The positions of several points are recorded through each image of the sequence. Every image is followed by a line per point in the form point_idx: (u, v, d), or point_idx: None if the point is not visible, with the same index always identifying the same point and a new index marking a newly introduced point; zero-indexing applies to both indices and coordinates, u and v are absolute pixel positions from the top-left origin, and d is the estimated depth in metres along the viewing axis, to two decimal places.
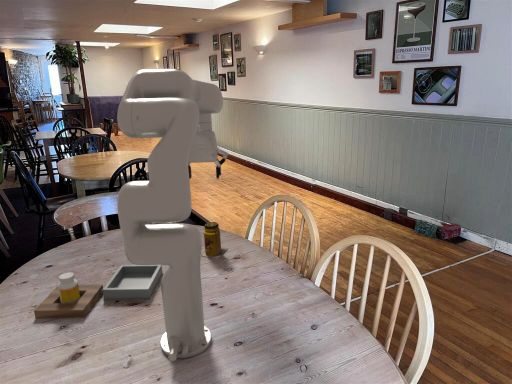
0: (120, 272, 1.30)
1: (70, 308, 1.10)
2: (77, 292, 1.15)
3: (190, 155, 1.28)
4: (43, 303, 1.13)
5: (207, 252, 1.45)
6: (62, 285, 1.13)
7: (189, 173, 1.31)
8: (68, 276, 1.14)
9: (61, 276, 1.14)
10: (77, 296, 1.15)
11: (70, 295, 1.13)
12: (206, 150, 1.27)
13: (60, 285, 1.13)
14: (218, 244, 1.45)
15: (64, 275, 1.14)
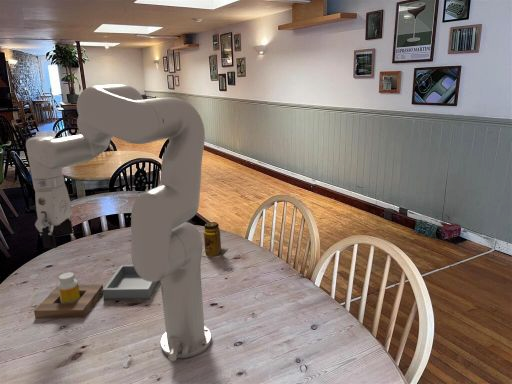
0: (120, 272, 1.30)
1: (70, 308, 1.10)
2: (77, 292, 1.15)
3: (57, 216, 1.05)
4: (43, 303, 1.13)
5: (207, 252, 1.45)
6: (62, 285, 1.13)
7: (54, 240, 1.06)
8: (68, 276, 1.14)
9: (61, 276, 1.14)
10: (77, 296, 1.15)
11: (70, 295, 1.13)
12: (66, 205, 1.10)
13: (60, 285, 1.13)
14: (218, 244, 1.45)
15: (64, 275, 1.14)
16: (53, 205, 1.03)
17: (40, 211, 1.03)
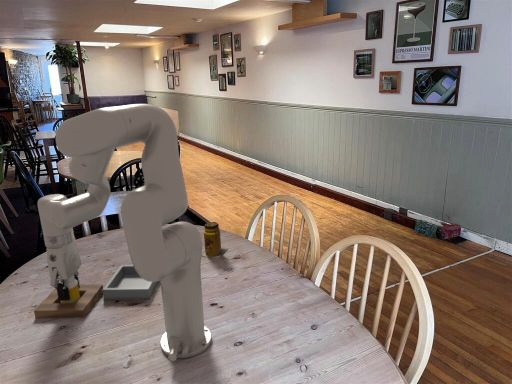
0: (120, 272, 1.30)
1: (70, 308, 1.10)
2: (77, 292, 1.15)
3: (67, 271, 1.10)
4: (43, 303, 1.13)
5: (207, 252, 1.45)
6: None
7: None
8: None
9: None
10: (77, 296, 1.15)
11: (70, 295, 1.13)
12: (76, 257, 1.15)
13: None
14: (218, 244, 1.45)
15: None
16: (63, 261, 1.08)
17: (52, 269, 1.08)
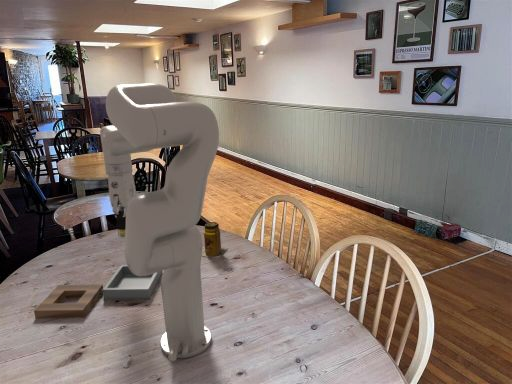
0: (120, 272, 1.30)
1: (70, 308, 1.10)
2: None
3: (127, 199, 1.14)
4: (43, 303, 1.13)
5: (207, 252, 1.45)
6: None
7: None
8: None
9: None
10: None
11: None
12: (133, 189, 1.19)
13: None
14: (218, 244, 1.45)
15: (122, 206, 1.18)
16: (124, 188, 1.12)
17: (113, 196, 1.12)
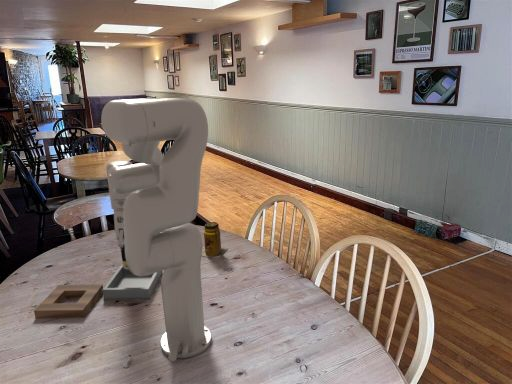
0: (120, 272, 1.30)
1: (70, 308, 1.10)
2: None
3: None
4: (43, 303, 1.13)
5: (207, 252, 1.45)
6: None
7: None
8: None
9: None
10: None
11: None
12: None
13: None
14: (218, 244, 1.45)
15: None
16: None
17: (118, 230, 1.15)
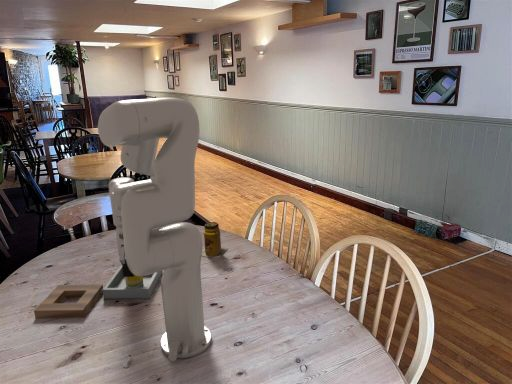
0: (120, 272, 1.30)
1: (70, 308, 1.10)
2: None
3: None
4: (43, 303, 1.13)
5: (207, 252, 1.45)
6: None
7: None
8: None
9: None
10: (141, 277, 1.24)
11: (135, 275, 1.22)
12: None
13: None
14: (218, 244, 1.45)
15: None
16: None
17: (120, 245, 1.17)
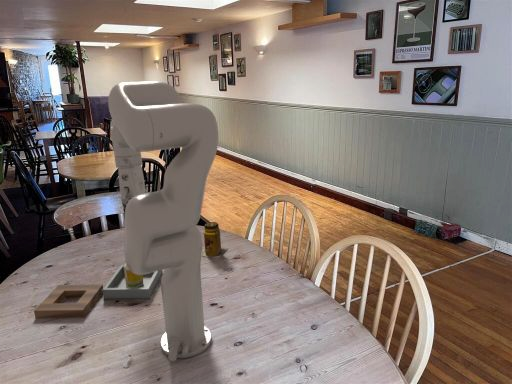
0: (120, 272, 1.30)
1: (70, 308, 1.10)
2: None
3: (137, 191, 1.14)
4: (43, 303, 1.13)
5: (207, 252, 1.45)
6: None
7: None
8: None
9: None
10: (141, 277, 1.24)
11: (135, 275, 1.22)
12: (142, 182, 1.19)
13: (126, 266, 1.22)
14: (218, 244, 1.45)
15: None
16: (134, 180, 1.12)
17: (123, 186, 1.12)
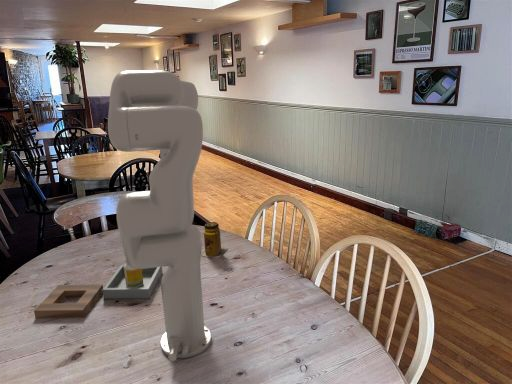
0: (120, 272, 1.30)
1: (70, 308, 1.10)
2: (141, 273, 1.24)
3: None
4: (43, 303, 1.13)
5: (207, 252, 1.45)
6: (128, 266, 1.22)
7: None
8: None
9: None
10: (141, 277, 1.24)
11: (135, 275, 1.22)
12: None
13: (126, 266, 1.22)
14: (218, 244, 1.45)
15: None
16: None
17: (164, 153, 1.15)
